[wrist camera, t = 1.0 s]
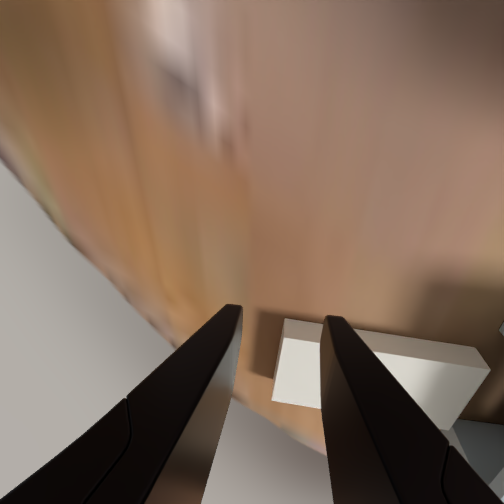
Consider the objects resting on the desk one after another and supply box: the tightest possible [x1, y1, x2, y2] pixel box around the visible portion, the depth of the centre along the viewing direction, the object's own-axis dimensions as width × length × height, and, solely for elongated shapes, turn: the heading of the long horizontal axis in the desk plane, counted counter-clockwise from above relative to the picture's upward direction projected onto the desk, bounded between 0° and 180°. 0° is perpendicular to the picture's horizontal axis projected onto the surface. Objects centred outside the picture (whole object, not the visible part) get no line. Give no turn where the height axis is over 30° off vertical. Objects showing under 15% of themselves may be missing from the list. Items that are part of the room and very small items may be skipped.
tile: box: [272, 318, 491, 431], centre depth 24 cm, size 14×7×2 cm, turn 85°
